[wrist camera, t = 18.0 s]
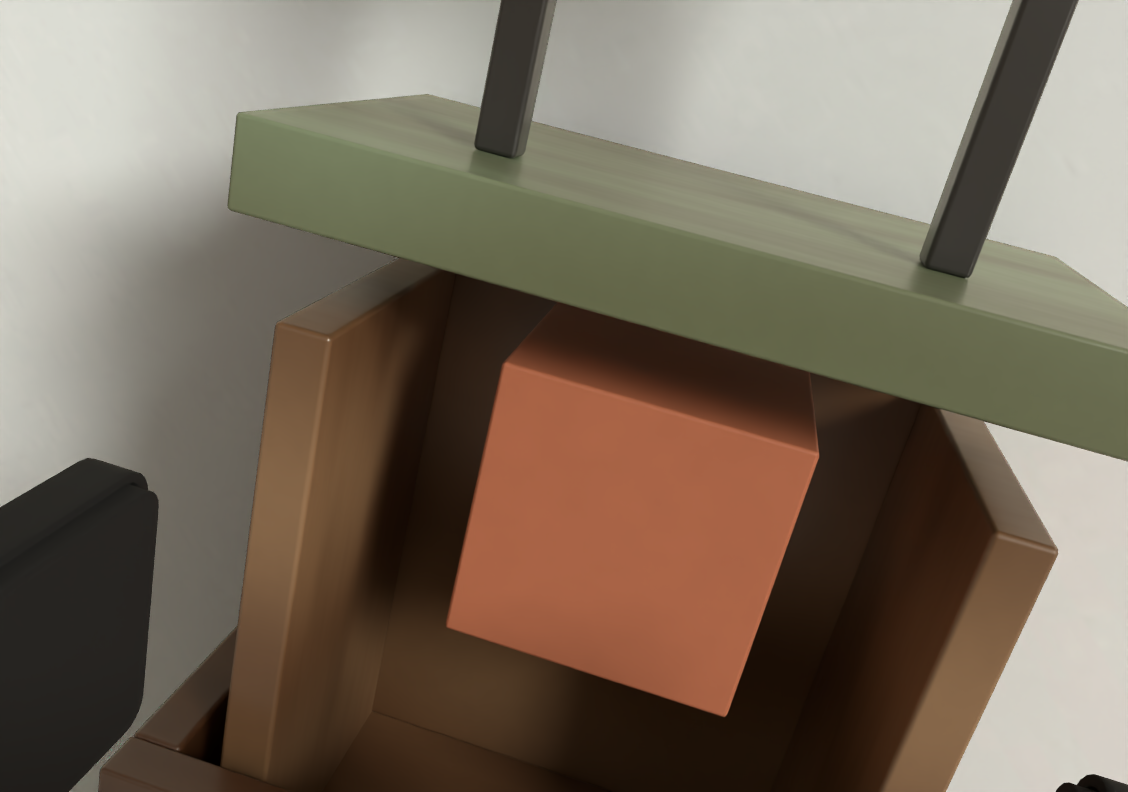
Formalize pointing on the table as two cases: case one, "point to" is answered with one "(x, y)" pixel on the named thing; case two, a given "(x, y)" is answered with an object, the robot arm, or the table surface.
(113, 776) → the cabinet
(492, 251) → the drawer
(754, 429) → the block
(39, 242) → the table surface
